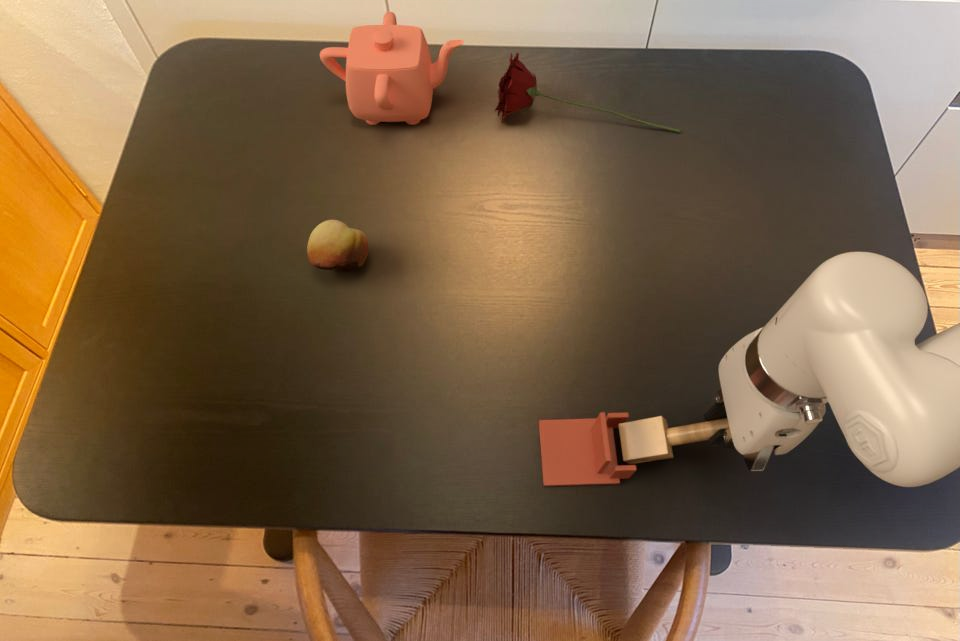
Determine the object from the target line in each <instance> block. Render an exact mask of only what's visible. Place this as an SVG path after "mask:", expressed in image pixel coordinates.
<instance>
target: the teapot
mask: <svg viewBox="0 0 960 641" xmlns="http://www.w3.org/2000/svg"><path fill="white" fill-rule="evenodd" d="M397 22H398V21H397V16H396V14H395V13H394V12H393V11H387V12H385V13H384V15H383V19H382V24H368V25H367V24H366V25H359V26H355V27H353V28H352V29H351V31H350V35H349V38H348V47H342V46H330V47H329V46H328V47H325V48H322V49H321V50H320V52H319V59H320V62H321V63H322V64H323V65H324V66H325V67H326V69H327V70H328V71H330V72H331V73H333V74H334V75H335V76H336V77H337V78H339V79H341V80H342V81H343V82H345V94H346V98H347V99H346V100H347V105H348V109H349V111H350V112H351V113H352V115H353V116H354V117H355V118H356V119H359V120H362V121H365V122H366V123H367V124H368V125H371V126H372V125H374V126H375V125H378V124H380V123H381V122H383V123H384V122H385V123H399V122H405V123H406V124H408V125H410V126H412V125H413V126H414V125H417V124H419V123H420V122H421V121H422V120H424V119H426V118H427V117H428V116H429V115H430V111H431V108H432V102H433V97H434V96H433V95H434V89H436V88H437V87H438V86H440V85H441V84H443V82H444V80H445V78H446V76H447V72H448V68H449V62H450V57H451V55H452V52H453V51H454V50H456V49H457V48H459V47H460V46H462V45H463V44H464V43H465V41H464V40H463V39H452V40H448V41H446V42H445V43H444V44H443V45H442V46H441V48H440V50H439V55H438V58H437V60H436V61H435V62H433V59H432V55H431V50H430V47H429V45H428V41H427V39H426V36H425V33H424V31H423V29H422V28H421V27H418V26H415V25H406V24H398V23H397ZM335 58H342V59H343V58H345V59H346V62H345V69H344V67H342V66H341V65H340V64H339V62H338V61H337V60H336V59H335Z"/></svg>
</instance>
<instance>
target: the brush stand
mask: <svg viewBox="0 0 960 641" xmlns="http://www.w3.org/2000/svg"><path fill="white" fill-rule="evenodd" d="M629 418H630V415H629V412H608V413H607V414H606V412H605V411H602V412H599V413H598V416H597V417H592V418H567V419H566V418H561V419H539V420H538V430H539V444H540V456H541V457H540V458H541V470H542V484H543V485H542V486H543V487H567V486H570V487H571V486H596V485H597V486H598V485H599V486H600V485H601V486H603V485H620V484H621V480H627V479H630V478H631V477H632V476H633V474H635V473H636V471H637V465H636V464H621V465H619V464H618V457H617V449H616V443H615V435H614V433H615V432H614V429H619V425H618V424H620V423H626V422H627V421H628V420H629Z"/></svg>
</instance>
